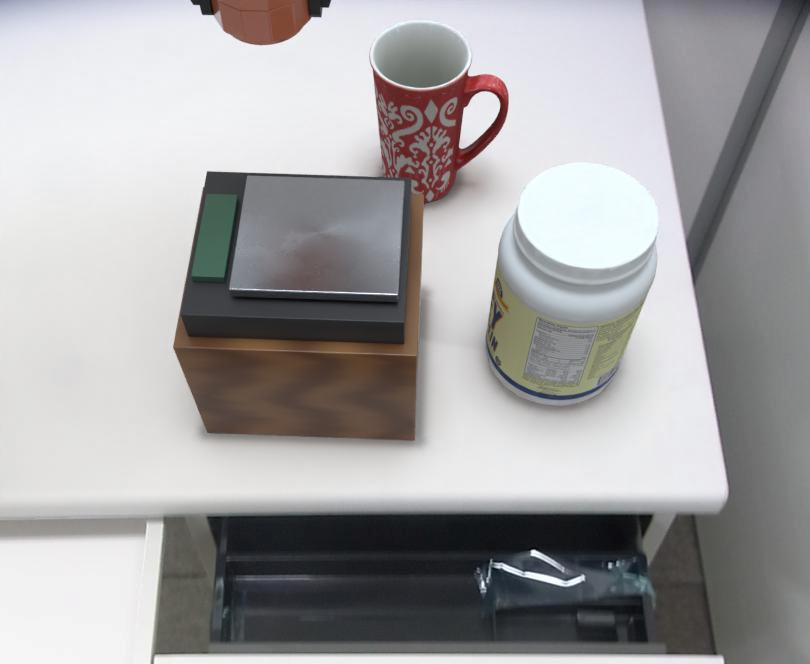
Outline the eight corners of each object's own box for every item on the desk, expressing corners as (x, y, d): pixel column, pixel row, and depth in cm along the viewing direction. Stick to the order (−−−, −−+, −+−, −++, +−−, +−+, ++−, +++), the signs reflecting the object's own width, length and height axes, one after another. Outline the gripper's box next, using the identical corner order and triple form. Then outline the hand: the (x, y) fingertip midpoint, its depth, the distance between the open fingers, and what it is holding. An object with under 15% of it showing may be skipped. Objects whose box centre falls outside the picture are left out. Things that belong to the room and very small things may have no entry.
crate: (207, 433, 72) (172, 347, 61) (230, 287, 79) (202, 186, 68) (414, 440, 72) (417, 356, 61) (421, 294, 79) (424, 193, 68)
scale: (188, 336, 62) (177, 309, 59) (213, 195, 68) (205, 164, 65) (404, 344, 62) (404, 316, 59) (411, 202, 67) (411, 171, 65)
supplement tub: (493, 292, 79) (515, 141, 63) (623, 312, 78) (677, 163, 62) (474, 400, 74) (493, 264, 58) (612, 422, 73) (668, 290, 58)
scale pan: (230, 296, 60) (228, 289, 59) (248, 183, 64) (246, 175, 64) (398, 302, 60) (398, 295, 59) (404, 188, 64) (404, 180, 63)
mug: (364, 203, 83) (358, 79, 71) (384, 139, 87) (382, 11, 75) (488, 224, 82) (504, 103, 70) (504, 159, 86) (522, 32, 74)
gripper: (369, -388, 40) (377, -26, 55) (68, -394, 40) (159, -31, 55) (362, -310, 37) (373, 50, 52) (35, -317, 37) (141, 45, 52)
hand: (262, 7), depth 53 cm, fingers closed on bowl, 6 cm apart
